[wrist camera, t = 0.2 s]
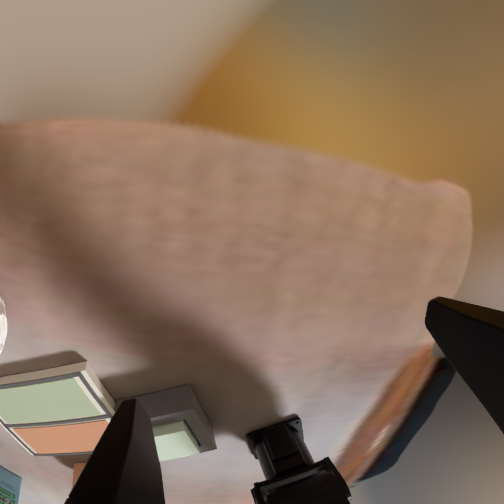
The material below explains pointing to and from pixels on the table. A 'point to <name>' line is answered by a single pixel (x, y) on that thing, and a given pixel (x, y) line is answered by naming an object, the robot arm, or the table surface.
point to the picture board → (56, 409)
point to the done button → (175, 440)
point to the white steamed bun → (2, 324)
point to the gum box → (9, 487)
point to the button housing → (179, 412)
